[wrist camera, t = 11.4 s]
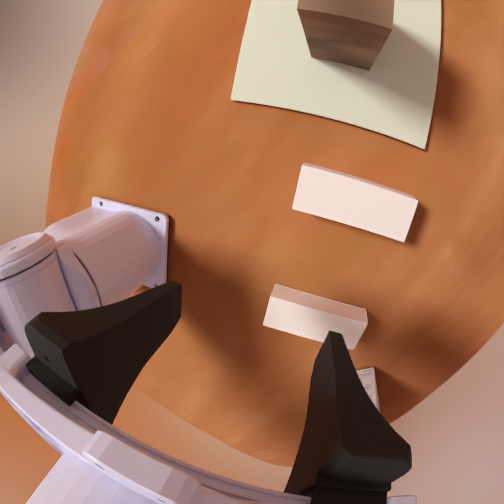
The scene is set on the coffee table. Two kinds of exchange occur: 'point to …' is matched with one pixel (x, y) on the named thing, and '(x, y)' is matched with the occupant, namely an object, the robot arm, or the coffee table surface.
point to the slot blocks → (351, 213)
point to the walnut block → (346, 29)
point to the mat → (344, 71)
